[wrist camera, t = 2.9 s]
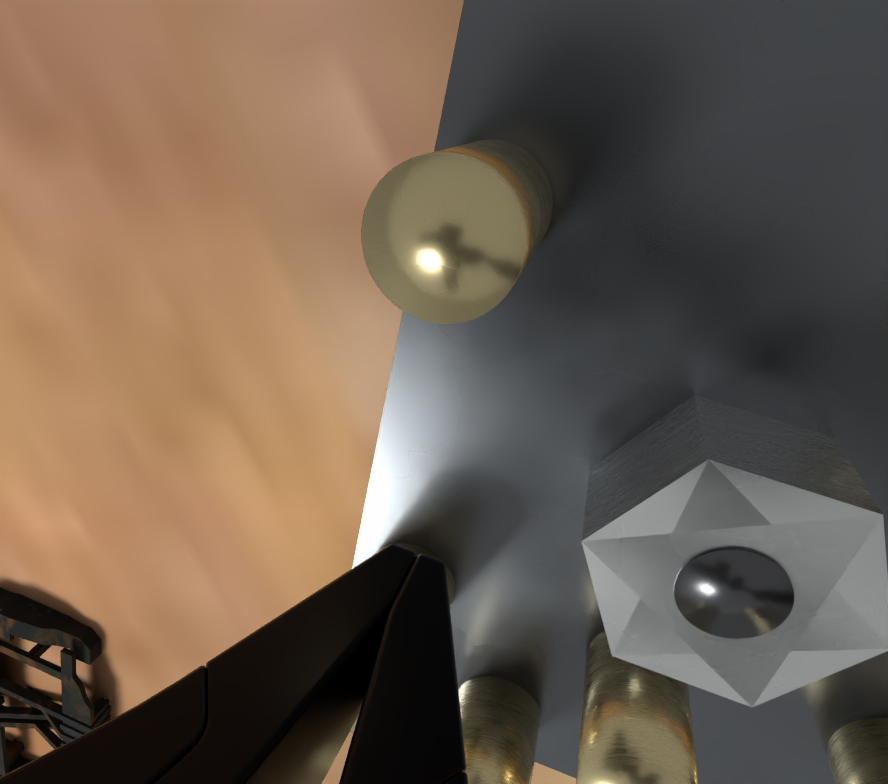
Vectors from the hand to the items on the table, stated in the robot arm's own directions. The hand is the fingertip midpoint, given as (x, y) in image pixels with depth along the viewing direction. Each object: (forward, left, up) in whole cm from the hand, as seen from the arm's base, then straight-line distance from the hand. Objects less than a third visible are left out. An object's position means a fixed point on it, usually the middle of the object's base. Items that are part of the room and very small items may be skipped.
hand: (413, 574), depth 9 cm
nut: (-5, 0, -4) cm, 7 cm away
